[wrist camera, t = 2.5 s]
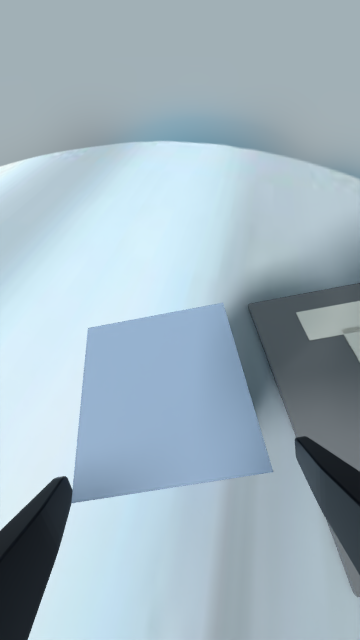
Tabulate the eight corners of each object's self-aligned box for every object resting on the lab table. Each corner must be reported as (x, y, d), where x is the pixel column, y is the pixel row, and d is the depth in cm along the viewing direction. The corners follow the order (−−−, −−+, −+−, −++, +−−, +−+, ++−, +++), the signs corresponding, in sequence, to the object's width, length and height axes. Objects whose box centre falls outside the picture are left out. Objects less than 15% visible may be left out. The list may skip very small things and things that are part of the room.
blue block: (216, 386, 19) (223, 302, 8) (231, 453, 16) (273, 472, 5) (160, 396, 19) (88, 328, 8) (166, 463, 16) (71, 503, 5)
